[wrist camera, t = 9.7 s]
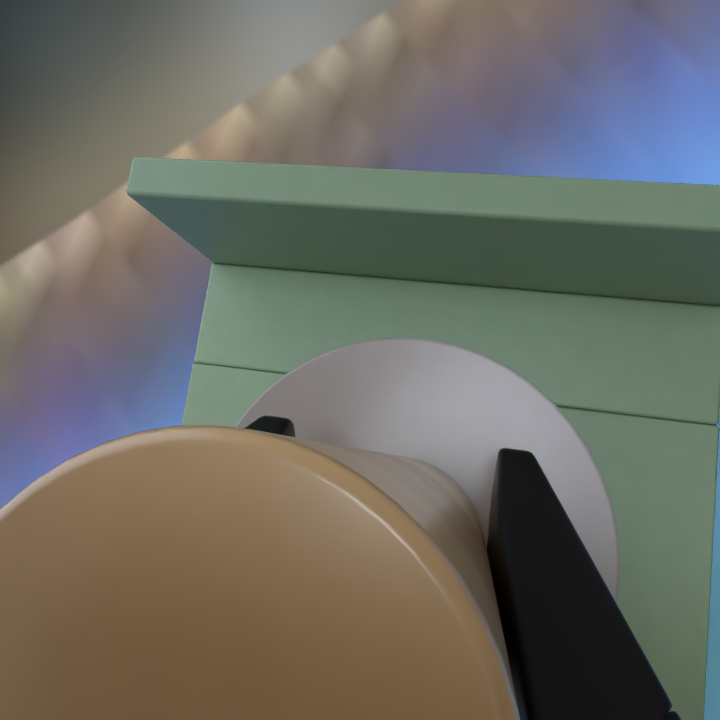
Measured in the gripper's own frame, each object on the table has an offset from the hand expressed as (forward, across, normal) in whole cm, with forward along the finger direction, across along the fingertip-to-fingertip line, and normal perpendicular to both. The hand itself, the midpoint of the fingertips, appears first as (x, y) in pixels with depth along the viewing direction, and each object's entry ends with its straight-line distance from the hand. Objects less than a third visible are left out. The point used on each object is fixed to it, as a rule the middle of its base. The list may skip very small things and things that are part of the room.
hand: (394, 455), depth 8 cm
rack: (+8, 0, +8) cm, 11 cm away
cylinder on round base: (+4, 0, +6) cm, 7 cm away
